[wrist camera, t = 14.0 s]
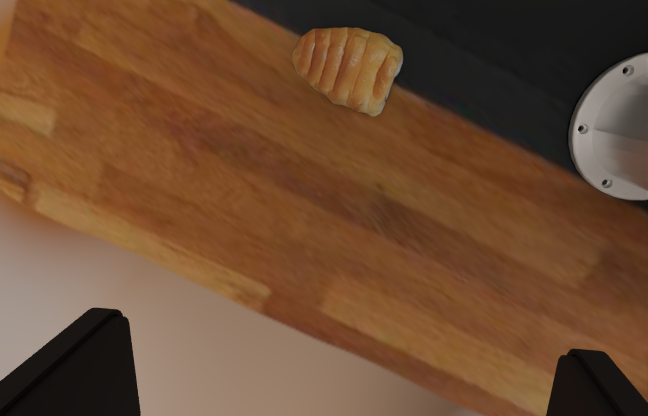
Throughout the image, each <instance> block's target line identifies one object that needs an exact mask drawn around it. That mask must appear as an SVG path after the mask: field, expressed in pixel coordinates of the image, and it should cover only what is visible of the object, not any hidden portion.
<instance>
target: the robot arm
mask: <svg viewBox="0 0 648 416" xmlns="http://www.w3.org/2000/svg"><path fill="white" fill-rule="evenodd" d="M623 69H625V72H624V73H623ZM579 126H581V130H579V131H578V128H579ZM568 145H569V150H570V155H571V158H572V161H573V163H574V165H575V167H576V169H577V171H578V172H579V173H580V174H581V176H582V177H583V178H584V179H585V180H586V181H587V182H588V183H589V184H591V185H592V186H593V187H595V188H596V189H598V190H600V191H602V192H604V193H606V194H609V195H611V196H614V197H616V198H621V199H627V200H648V53H643V54H638V55H635V56H633V57H630V58H627V59H625V60H622V61H621V62H619V63H617V64H615V65H614V66H612V67H610V68H609V69H607V70H606V71H605V72H604V73H602V74H601V75H600V76H599V77H597V78H596V79H595V80H594V81H593V83H592V84H591V85H590V86H589V87H588V88H587V89H586V90H585V92H584V93H583V95H582V97H581V98H580V100H579V101H578V103H577V105H576V107H575V110H574V112H573V115H572V117H571V122H570V127H569V133H568ZM604 180H605V181H604ZM603 181H604V183H603V184H602V182H603ZM0 416H140V405H139V397H138V389H137V381H136V373H135V365H134V358H133V350H132V342H131V335H130V326H129V321H128V319H127V318H126V317H123V315H122V313H121V311H119V310H117V309H106V308H91V309H90V310H88V311H87V312H85V313H84V314H83V315H82V316H81V317H79V318H78V319H77V320H75V321H74V322H73V323H72V324H71V325H69V326H68V327H67V328H66V329H64V330H63V331H62V332H61V333H59V334H58V335H57V336H56V337H55V338H53V339H52V340H51V341H49V342H48V343H47V344H46V345H45V346H43V347H42V348H41V349H40V350H38V351H37V352H36V353H35V354H33V355H32V356H31V357H30V358H28V359H27V360H26V361H25V362H23V363H22V364H21V365H20V366H19V367H17V368H16V369H15V370H14V371H12V372H11V373H10V374H9V375H7V376H6V377H5V378H4V379H2V380H1V381H0ZM546 416H648V403H647V401H646V400H645V399H644V398H643V397H642V395H641V394H640V393H639V392H638V391H637V389H636V388H635V387H634V386H633V385H632V384H631V382H630V381H629V380H628V379H627V378H626V376H625V375H624V374H623V373H622V372H621V370H620V369H619V368H618V367H617V366H616V364H615V363H614V362H613V361H612V360H611V358H610V357H609V356H608V355H607V354H606V353H605V352H602V351H595V350H583V349H571V350H570V351H569V352H568V354H567V355H562V356H560V358H559V360H558V364H557V368H556V373H555V377H554V382H553V386H552V391H551V396H550V400H549V405H548V409H547V414H546Z"/></svg>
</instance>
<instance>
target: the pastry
mask: <svg viewBox="0 0 648 416" xmlns="http://www.w3.org/2000/svg"><path fill="white" fill-rule="evenodd" d="M292 62H293V64H294V67H295V68H296V71H297V73H298V75H299V76H301V77H302V78H303V79H304V80H306V81H307V82H308V83H309V85H310V86H312V87H313V88H314V89H315V90H317V91H318V92H320V93H322V94H324V95H326V96H327V97H328V98H329V99H330V101H331V102H332V103H334V104H341V105H344V106H347V107H349V108H351V109H352V110H354V111H356V112H364V113H367V114H369V115H370V116H373V117H374V116H377V115H379V114H380V113H381V112H382V110H383V108H384V105H385V103H386V99H387V97H388V94H389V90H390V88H391V85H392V83H393V80H394V77H395V76H396V75H397V74H398V73H399V71H400V68H401V65H402V63H403V53H402V49H401V48H400V47H399V46H397V45H395V44H394V43H392V42H391V41H390V40H389V39H388V38H387V37H386V36H384V35H382V34H380V33H372V32H370V31H365V30H363V29H360V28H349V27H343V28H327V29H317V28H316V29H313V30H311V31H309V32H307V33H306V34H305V35H303V36H302V37H301V38H300V39H299V41H298V43H297V45H296V48H295V50H294V51H293V54H292Z"/></svg>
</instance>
